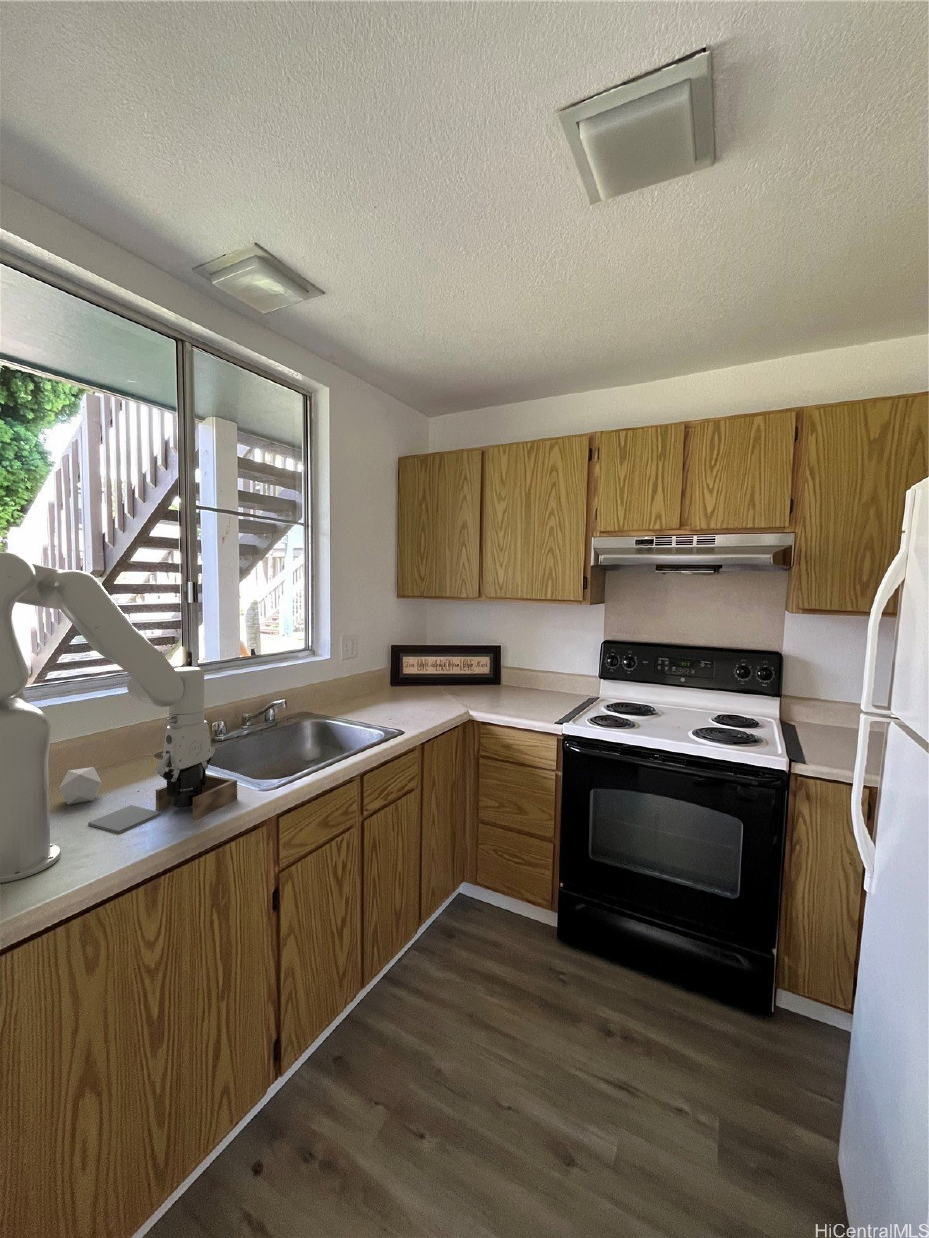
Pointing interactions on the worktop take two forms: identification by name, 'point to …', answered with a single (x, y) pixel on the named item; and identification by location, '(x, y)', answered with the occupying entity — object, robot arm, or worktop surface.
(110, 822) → the pad
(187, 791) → the supplement bottle
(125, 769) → the worktop surface
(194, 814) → the cubby
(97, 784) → the die
